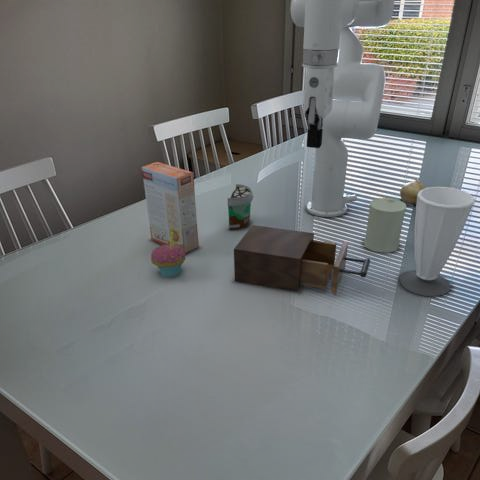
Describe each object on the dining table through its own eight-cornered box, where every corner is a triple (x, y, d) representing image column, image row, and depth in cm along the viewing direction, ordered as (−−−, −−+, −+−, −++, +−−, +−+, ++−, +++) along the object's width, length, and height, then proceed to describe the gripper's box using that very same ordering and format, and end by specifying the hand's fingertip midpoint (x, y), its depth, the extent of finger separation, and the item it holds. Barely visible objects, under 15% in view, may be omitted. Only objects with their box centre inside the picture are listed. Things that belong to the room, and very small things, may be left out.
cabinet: (311, 264, 121) (314, 233, 116) (298, 292, 111) (300, 258, 106) (252, 255, 126) (252, 224, 121) (234, 281, 115) (233, 248, 110)
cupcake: (192, 266, 121) (188, 223, 114) (178, 283, 115) (173, 238, 108) (162, 262, 124) (156, 218, 117) (146, 278, 117) (139, 233, 110)
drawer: (369, 271, 116) (373, 245, 112) (362, 298, 107) (366, 271, 103) (287, 259, 122) (289, 234, 118) (273, 283, 112) (274, 257, 108)
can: (401, 240, 131) (409, 198, 124) (395, 255, 124) (403, 212, 117) (368, 235, 134) (374, 194, 127) (360, 249, 128) (366, 206, 121)
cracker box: (200, 247, 130) (194, 171, 118) (183, 255, 126) (176, 177, 114) (167, 233, 138) (158, 160, 126) (150, 240, 134) (140, 165, 122)
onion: (427, 206, 150) (432, 184, 146) (402, 207, 150) (406, 185, 146) (420, 197, 156) (424, 175, 152) (395, 197, 157) (399, 176, 153)
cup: (424, 302, 107) (447, 210, 94) (389, 278, 115) (405, 192, 102) (461, 288, 111) (488, 199, 98) (424, 267, 119) (444, 182, 106)
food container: (249, 233, 137) (249, 200, 131) (228, 232, 138) (227, 198, 132) (256, 216, 146) (256, 184, 140) (237, 215, 147) (236, 183, 142)
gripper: (331, 64, 95) (323, 157, 105) (344, 54, 106) (335, 139, 117) (294, 62, 97) (290, 154, 107) (310, 53, 108) (305, 137, 119)
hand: (314, 146), depth 112 cm, fingers closed
